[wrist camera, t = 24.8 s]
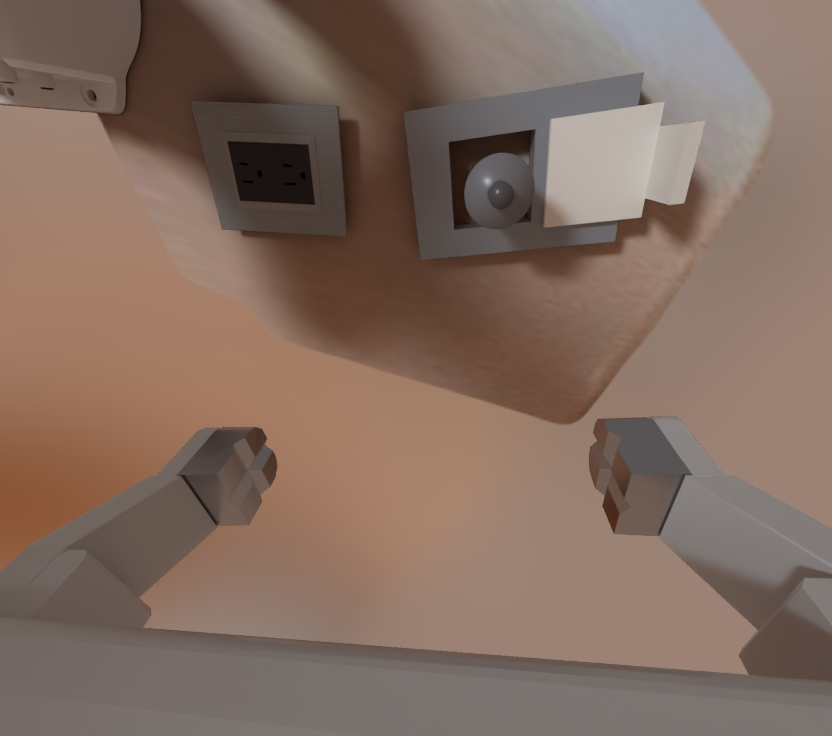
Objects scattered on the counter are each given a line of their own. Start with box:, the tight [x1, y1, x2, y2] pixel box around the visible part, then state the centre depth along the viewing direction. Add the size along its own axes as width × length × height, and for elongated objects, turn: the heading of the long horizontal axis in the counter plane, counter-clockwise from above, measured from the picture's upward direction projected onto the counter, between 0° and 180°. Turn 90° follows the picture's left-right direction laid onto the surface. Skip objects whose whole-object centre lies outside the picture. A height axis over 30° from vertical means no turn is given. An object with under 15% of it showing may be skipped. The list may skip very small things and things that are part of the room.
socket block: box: [403, 72, 644, 260], centre depth 31 cm, size 18×12×2 cm, turn 97°
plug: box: [464, 153, 535, 229], centre depth 28 cm, size 5×5×12 cm
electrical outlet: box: [190, 101, 347, 237], centre depth 33 cm, size 13×10×2 cm
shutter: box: [543, 102, 705, 228], centre depth 27 cm, size 9×8×5 cm
